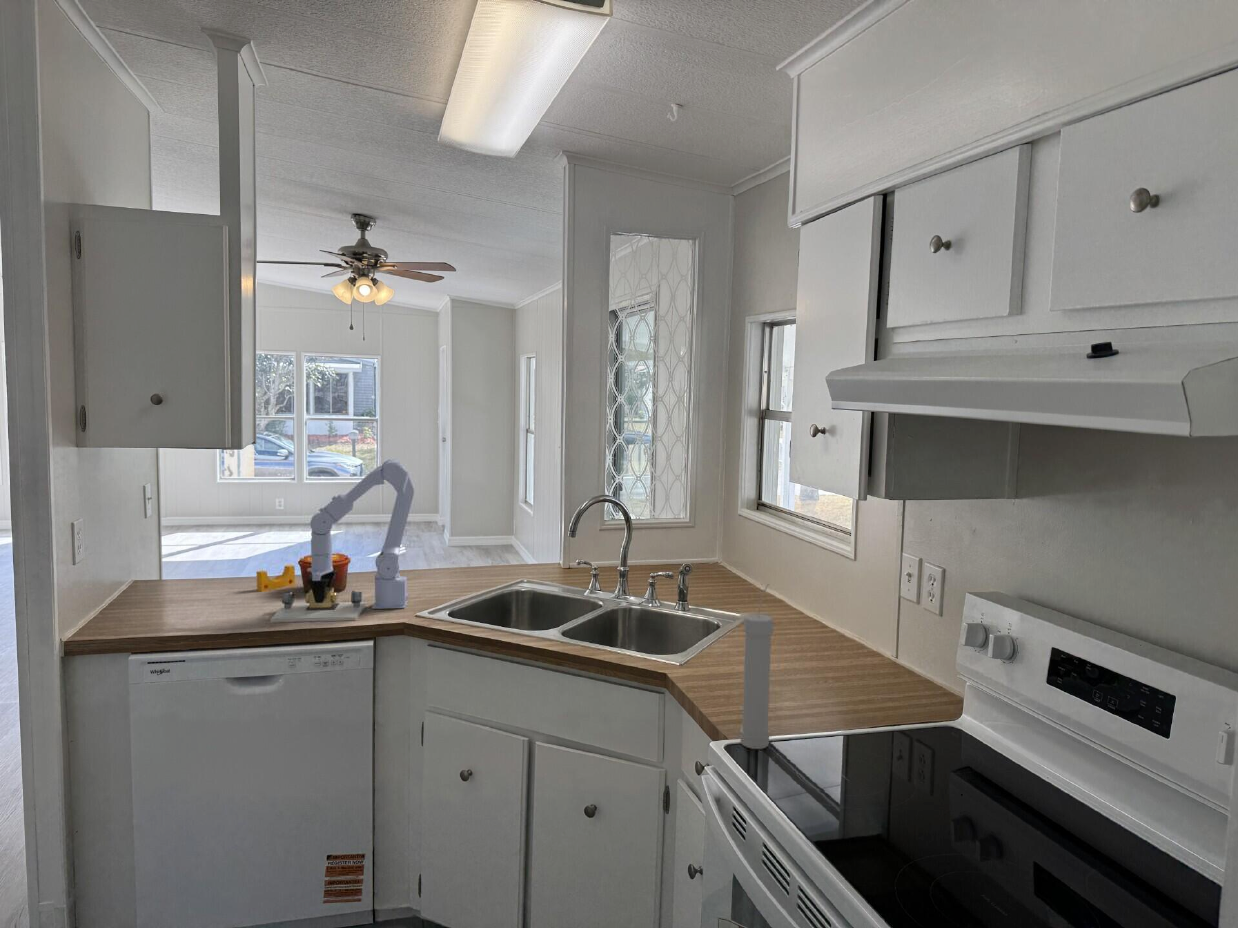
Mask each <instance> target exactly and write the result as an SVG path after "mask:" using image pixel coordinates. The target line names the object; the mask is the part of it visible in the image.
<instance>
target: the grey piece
mask: <svg viewBox="0 0 1238 928" xmlns="http://www.w3.org/2000/svg"><path fill="white" fill-rule="evenodd" d="M769 585H770V584H769V583H767V585H766V586H765V588H764V590H763V593H762V595H761V598H760V601H759V607H758V614H756V613H753V614H748V615H745V616H744V619H743V629H742V630H743V632H744V633H745V635H744V636H745V637H744V638H745V639H744V641H745V642H744V666H743V667H744V668H743V695H742V698H743V699H742V726H741V727H740V729H739V731H740V743H741V744H742V746H744V747H746V748H748V749H752V750H762V749H765V748H767V747H768V746H769V744H770V742H769V741H770V736H771V732H770V729H769V703H770V702H769V700H770V676H771V673H770V672H771V644H772V635H773V633H774V628H773V627H774V621H773V620H774V619H773V618H772V617H771V616H770V615H765V614H761V613H760V611H761V606H762V601H763V597H764V595H765V593H766V590H767V588H768V587H769Z"/></svg>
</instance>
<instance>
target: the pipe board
mask: <svg viewBox="0 0 1238 928" xmlns="http://www.w3.org/2000/svg"><path fill="white" fill-rule="evenodd" d="M294 601H295V593H294V592H293V591H290V592H289V593H288V592H287V593H285V592H284V593H282V596H281V604H282V605H283V604H284V606H282V608H281V607H280V609H279V610H277V612H276V613H275V614H274V615H273V616H272V617H271V618H270V623H291V622H293V623H294V622H295V623H296V622H339V621H357V619H358V617H359V616H360V615H361V614H362V612H363V611H364V609H365V608H366V606H367V602H366V601H363V592H362V591H356V590H351V596H350V601H349V602H347V601H345V602H342V601H341V602H340V601H339V602H338V601H337V603H334V605H333V606H332V607H331V608H309V603H306V602H300V603H298V602H296V603H294Z"/></svg>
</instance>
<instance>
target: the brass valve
mask: <svg viewBox="0 0 1238 928" xmlns="http://www.w3.org/2000/svg"><path fill="white" fill-rule="evenodd" d="M338 597H339V596H338V592H337V593H334V588H326V589H325V597H324V601H323V603H315V600H314V596H313V592H312V589H311V590H310V591H309V593H305V603H309V608H331V607H332V606H333V605H334V603H337V602H338V599H339V598H338Z"/></svg>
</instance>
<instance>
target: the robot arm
mask: <svg viewBox="0 0 1238 928" xmlns="http://www.w3.org/2000/svg"><path fill="white" fill-rule="evenodd" d="M385 481H386V482H387V483H388V484H390V485H391V486H392V487H393V489H394V490H395V492H396V493H397V494H396V498H395V501H394V505H393V508H392V513H391V517H390V521H389V525H388V529H387V531H386V536H385V538H384V539H385V540H384V543H383V545H382V547H381V552H380V553H379V554H378V556H377V557H376V558H375V567H376V571H377V572H376V574H374V603H373V604H372V606H371V609H372V610H374V609H375V610H376V609H377V610H378V609H380V610H381V609H382V610H383V609H405V608H406V607H407V606H406V605H407V604H408V601H409V600H408V598H409V597H408V596H409V595H408V578H407V576H401V575H400V573H399V572H400V571H399V570H400V565H399V557H400V549H401V545H402V540H403V537H404V533H405V529H406V526H407V521H408V519H409V518H408V517H409V513H410V510H411V507H412V502H413V498H414V494H415V489H414V485H413V482H412V481H411V478H410V475H409V472H408V471H407V470H406V469H405V467H404V466H403V464H401V463H400V462H399V461H397V460H396V459H387V460H386V461H384V462H383V463H382V465H379V466H377V467H375V468H374V469H373V470H371V471H370V472H369V473H368V474H367V475H366V476H365V477H364V478H362V479H361V480H360V481H359V482H358V483H357V484H356V485H355V486H353V488H351V490H349V491H348V492H347V493H346V494H341V493H340V494H338V495H334V496H332V498H331V501H329V502H328V503H327V505H325V506H324V507H321V508H320V509H319V512H317V513H315V514H314V515H312V517H311V520H310V524H309V525H310V529H311V533H310V535H311V538H310V553H311V554H310V555H311V563H312V568H308V569H307V571H308V572H311V573H312V579H308V584H309V585H310V587H311V589H312V592H313V596H314V600H315V603H323V601H324V597H325V589H326V588H331V585H332V581H333V578H334V576H335V574H336V571H333V567H332V554H333V541H332V540H333V538H332V535H331V532H332V531H331V530H332V528H333V524H337V523H338V522H339V521H340V520H342V519H343V518H344V517H345V516H346V515H347V514H349V513H350V512H351V511H352V510H353V509H354V502H356V501H357V500H359V499H360V498H361V497H363V495H365V494H366V493H367V492H369V491H370V489H372V488H373V487H375V486H379V485H385V484H386V483H385Z"/></svg>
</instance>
